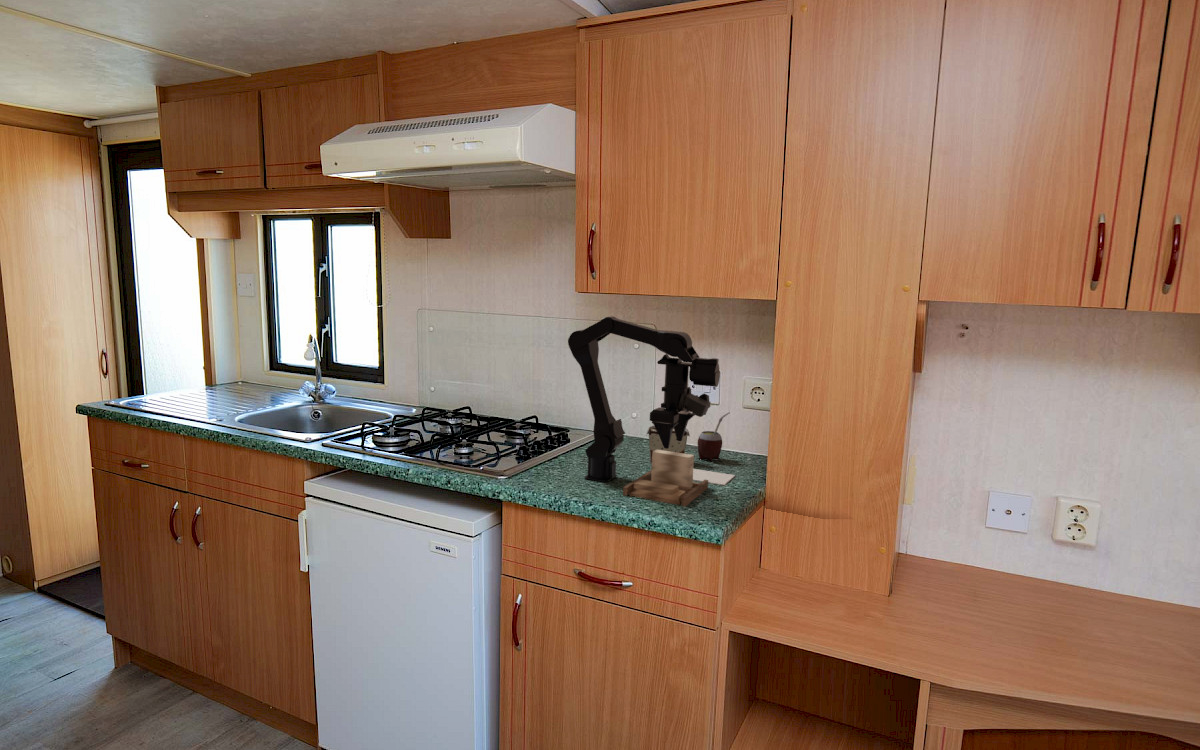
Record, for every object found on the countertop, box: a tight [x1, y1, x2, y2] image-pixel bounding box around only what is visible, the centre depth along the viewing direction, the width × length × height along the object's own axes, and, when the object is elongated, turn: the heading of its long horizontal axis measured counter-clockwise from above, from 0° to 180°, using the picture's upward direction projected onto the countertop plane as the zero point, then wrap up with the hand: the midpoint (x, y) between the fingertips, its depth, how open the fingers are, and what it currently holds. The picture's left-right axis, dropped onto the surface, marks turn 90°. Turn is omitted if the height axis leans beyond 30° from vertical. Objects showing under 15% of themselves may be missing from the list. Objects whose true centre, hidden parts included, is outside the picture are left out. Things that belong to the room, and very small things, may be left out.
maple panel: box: [650, 450, 695, 488], centre depth 179 cm, size 10×3×9 cm, turn 63°
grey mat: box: [693, 468, 736, 487], centre depth 190 cm, size 12×10×1 cm
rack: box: [622, 470, 709, 507], centre depth 176 cm, size 16×17×2 cm
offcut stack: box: [628, 479, 686, 506], centre depth 171 cm, size 13×5×4 cm, turn 63°
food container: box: [646, 425, 691, 464], centre depth 205 cm, size 12×6×10 cm, turn 92°
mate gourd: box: [697, 412, 730, 463], centre depth 207 cm, size 8×8×15 cm
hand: (673, 444), depth 178 cm, fingers open, 9 cm apart
